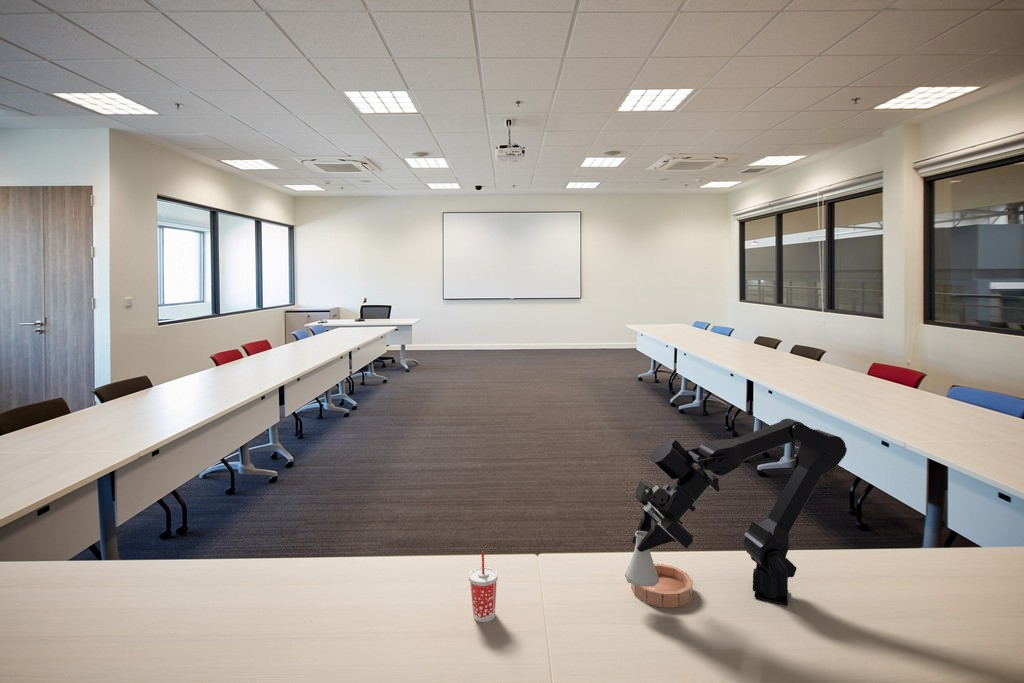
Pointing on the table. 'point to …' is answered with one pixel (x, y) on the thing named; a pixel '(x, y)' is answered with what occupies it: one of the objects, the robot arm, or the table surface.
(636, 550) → the flask
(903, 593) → the table surface
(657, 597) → the bowl
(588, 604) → the table surface
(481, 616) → the beverage cup
